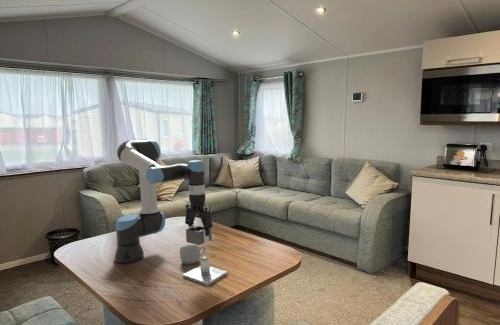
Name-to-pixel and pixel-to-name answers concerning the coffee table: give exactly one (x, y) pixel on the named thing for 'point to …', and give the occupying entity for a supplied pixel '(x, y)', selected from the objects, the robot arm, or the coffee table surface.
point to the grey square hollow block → (196, 235)
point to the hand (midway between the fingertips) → (199, 240)
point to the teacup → (191, 253)
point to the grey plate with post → (205, 273)
